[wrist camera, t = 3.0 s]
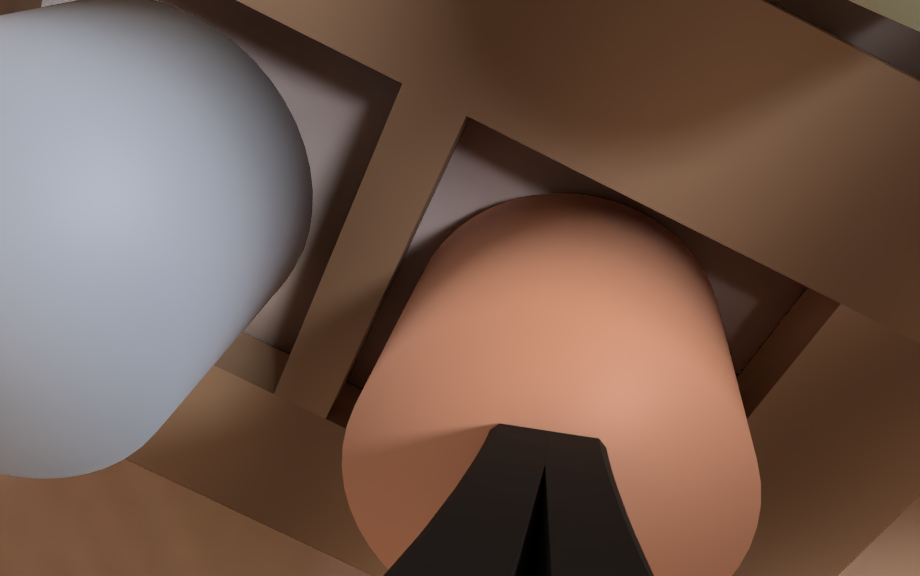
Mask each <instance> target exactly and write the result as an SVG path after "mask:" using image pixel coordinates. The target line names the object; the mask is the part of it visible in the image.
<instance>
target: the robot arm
mask: <svg viewBox="0 0 920 576" xmlns="http://www.w3.org/2000/svg"><path fill="white" fill-rule="evenodd" d="M548 433H549V434H548ZM383 576H654V575H653V572H652V570H651V568H650V566H649V564H648V561H647V559H646V557H645V555H644V552H643V550H642V548H641V546H640V543H639V541H638V539H637V537H636V535H635V532H634V530H633V527H632V525H631V522H630V520H629V517H628V515H627V512H626V509H625V507H624V504H623V501H622V499H621V496H620V493H619V490H618V487H617V484H616V481H615V478H614V475H613V472H612V469H611V465H610V461H609V457H608V453H607V448H606V447H605V445H604V444H603V443H602V442H601V440H600V439H599V438H593V437H586V436H579V435H573V434H566V433H559V432H553V431H546V430H540V429H533V428H527V427H520V426H514V425H507V424H501V423H500V424H498V425H496V426H495V427H493V428H492V429H490V431H489V433H488V435H487V437H486V439H485V441H484V443H483V445H482V447H481V449H480V450H479V452H478V454H477V456H476V457H475V459H474V460H473V462H472V464H471V465H470V467H469V468H468V470H467V471H466V473H465V474H464V476H463V477H462V479H461V480H460V482H459V483H458V485H457V486H456V487H455V489H454V490H453V491H452V493H451V494H450V495H449V497H448V498H447V499H446V501H445V502H444V503H443V505H442V506H441V507H440V509H439V510H438V511H437V513H436V514H435V515H434V517H433V518H432V519H431V520H430V522H429V523H428V524H427V526H426V527H425V528H424V529H423V531H422V532H421V533H420V534H419V535H418V537H417V538H416V539H415V540H414V541H413V542H412V544H411V545H410V546H409V547H408V548H407V549H406V550H405V551H404V553H403V554H402V555H401V556H400V557H399V558H398V559H397V561H396V562H395V563H394V564H393V565H392V566H391V567H390V569H389V570H388V571H387V572H386V573H385V574H384V575H383Z"/></svg>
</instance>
